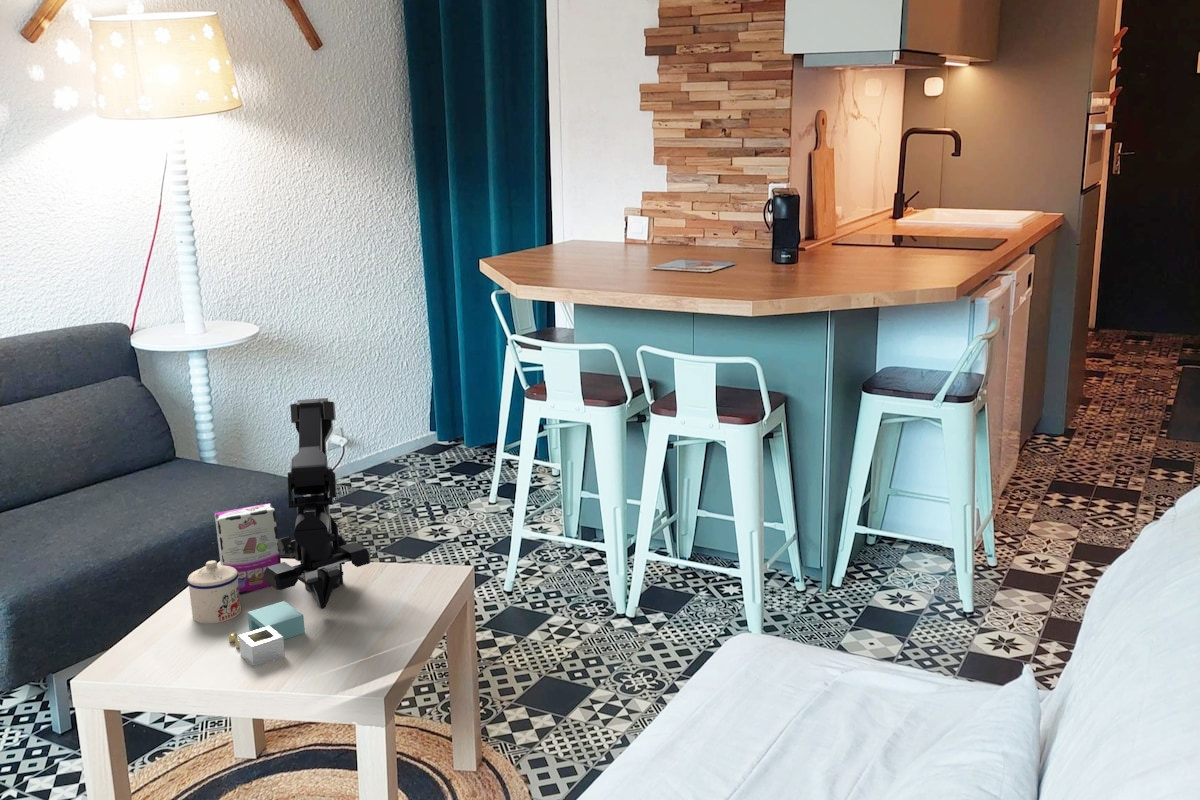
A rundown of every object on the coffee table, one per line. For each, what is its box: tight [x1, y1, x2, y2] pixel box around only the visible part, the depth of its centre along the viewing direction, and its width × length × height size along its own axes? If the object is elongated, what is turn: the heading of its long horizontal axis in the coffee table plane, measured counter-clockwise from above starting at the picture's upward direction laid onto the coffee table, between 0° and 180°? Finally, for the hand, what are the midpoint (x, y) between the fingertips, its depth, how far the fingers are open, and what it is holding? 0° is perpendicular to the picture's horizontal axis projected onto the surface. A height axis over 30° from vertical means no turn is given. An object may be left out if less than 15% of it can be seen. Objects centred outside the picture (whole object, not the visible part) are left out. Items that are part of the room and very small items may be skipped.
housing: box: [247, 600, 306, 640], centre depth 198 cm, size 7×8×4 cm
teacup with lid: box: [186, 560, 242, 624], centre depth 206 cm, size 12×9×12 cm
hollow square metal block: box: [237, 626, 286, 669], centre depth 188 cm, size 6×6×4 cm
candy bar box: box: [214, 502, 282, 595], centre depth 219 cm, size 11×5×16 cm, turn 118°
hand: (322, 608), depth 203 cm, fingers closed
